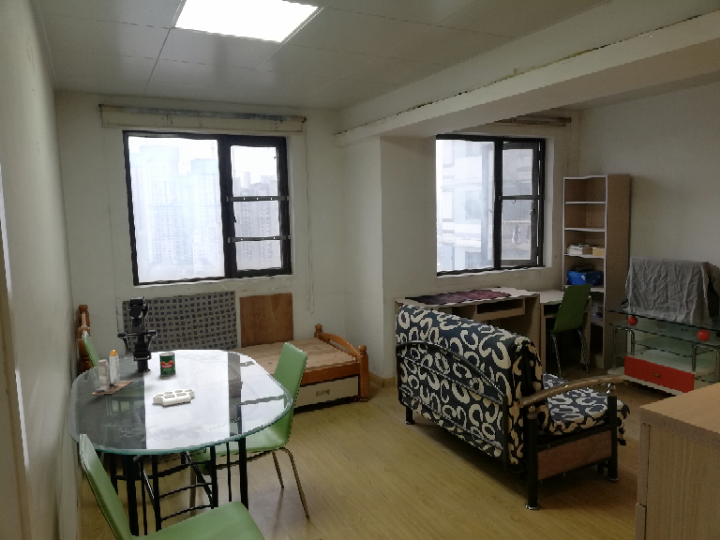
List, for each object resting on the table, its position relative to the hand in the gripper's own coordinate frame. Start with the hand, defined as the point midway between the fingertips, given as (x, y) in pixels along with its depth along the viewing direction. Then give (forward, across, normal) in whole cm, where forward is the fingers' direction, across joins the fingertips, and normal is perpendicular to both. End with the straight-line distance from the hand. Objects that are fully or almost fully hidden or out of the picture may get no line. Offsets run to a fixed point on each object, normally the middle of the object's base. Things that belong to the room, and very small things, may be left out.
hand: (138, 351), depth 271 cm
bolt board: (+18, -12, -3) cm, 21 cm away
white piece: (+29, +18, -32) cm, 47 cm away
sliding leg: (+15, -12, -1) cm, 19 cm away
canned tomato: (+12, +14, +13) cm, 23 cm away
